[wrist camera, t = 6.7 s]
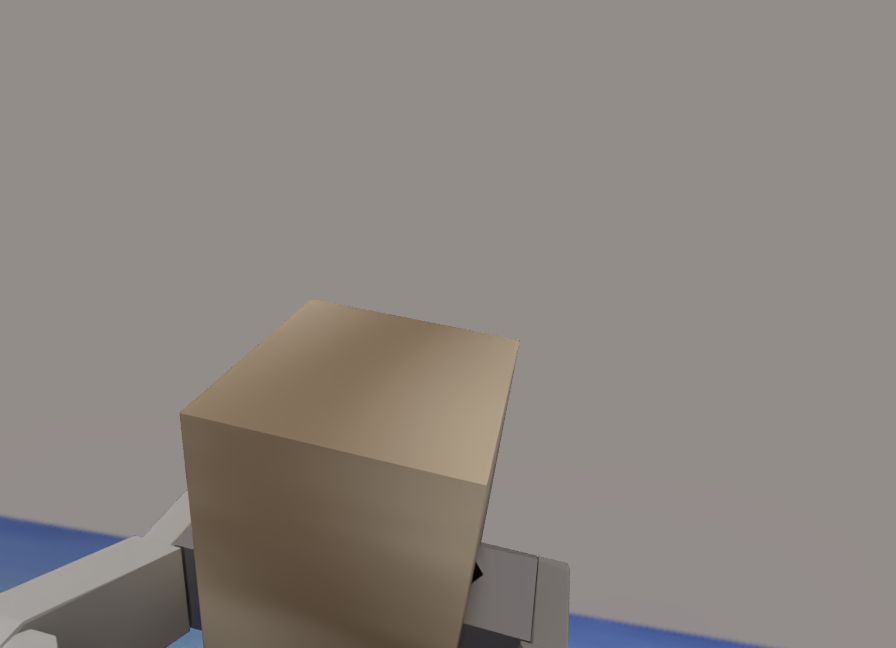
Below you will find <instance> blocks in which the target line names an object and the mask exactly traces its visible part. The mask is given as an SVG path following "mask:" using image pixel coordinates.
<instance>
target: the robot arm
mask: <svg viewBox="0 0 896 648" xmlns="http://www.w3.org/2000/svg"><path fill="white" fill-rule="evenodd" d="M569 588H570V568H569V565H568V564H567V563H564V562H560V561H556V560H551V559H548V558H544V557H540V556H539V557H537V556H536V555H531V554H527V553H523V552H519V551H515V550H510V549H507V548H502V547H498V546H494V545H490V544H486V543H482V542H480V545H479V549H478V554H477V558H476V563H475V568H474V574H473V579H472V584H471V586H470V591H469V596H468V600H467V605H466V610H465V614H464V619H463V624H462V629H461V634H460V640H459V645H458V648H568V635H569ZM190 628H194V629H198V630H202V624H201V614H200V605H199V595H198V585H197V576H196V566H195V556H194V547H193V537H192V527H191V517H190V508H189V498H188V489H187V490H186V491H185V492H184V494H183V495H182V496H181V497H180V498H179V499H178V500H177V501H176V502H175V503H174V504H173V505H172V506H171V507H170V509H169V510H168V511H167V512H166V513H165V514H164V515H163V516H162V517H161V518H160V519H159V520H158V522H157V523H156V524H155V525H154V526H153V527H152V528H151V529H150V530H149V531H148V532H147V533H146V534H145V535H144V536H143V537H140V536H136V535H134V536H132V537H130V538H127V539H125V540H123V541H120V542H118V543H116V544H113V545H111V546H109V547H106V548H104V549H102V550H99V551H97V552H95V553H92V554H90V555H88V556H85V557H83V558H81V559H78V560H76V561H74V562H71V563H69V564H67V565H64V566H62V567H60V568H57V569H55V570H53V571H50V572H48V573H46V574H43V575H41V576H39V577H36V578H34V579H32V580H29V581H27V582H25V583H22V584H20V585H18V586H15V587H13V588H11V589H8V590H6V591H4V592H1V593H0V648H166V647H167V646H169V645H170V644H172V643H173V642H175V641H176V640H177V639H179V638H180V637H182V636H183V635H185V634H186V633H188V632H189V631H190Z"/></svg>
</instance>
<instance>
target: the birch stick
mask: <svg viewBox="0 0 896 648" xmlns="http://www.w3.org/2000/svg"><path fill="white" fill-rule="evenodd" d="M519 342H520V340H516V339H510V338H505V337H501V336H496V335H490V334H486V333H480V332H475V331H470V330H466V329H460V328H455V327H450V326H445V325H440V324H435V323H430V322H425V321H420V320H415V319H410V318H405V317H400V316H395V315H390V314H385V313H380V312H375V311H370V310H365V309H360V308H355V307H350V306H344V305H340V304H335V303H330V302H325V301H320V300H315V299H310V300H309V301H308V302H307V303H306V304H305V305H303V306H302V307H301V308H300V309H299V310H298V311H297V312H295V313H294V314H293V315H292V316H291V317H290V318H288V319H287V320H286V321H285V322H284V323H283V324H282V325H280V326H279V327H278V328H277V329H276V330H275V331H274V332H272V333H271V334H270V335H269V336H268V337H267V338H265V339H264V340H263V341H262V342H261V343H260V344H259V345H257V346H256V347H255V348H254V349H253V350H252V351H250V352H249V353H248V354H247V355H246V356H245V357H244V358H242V359H241V360H240V361H239V362H238V363H237V364H235V365H234V366H233V367H232V368H231V369H230V370H229V371H227V372H226V373H225V374H224V375H223V376H222V377H220V378H219V379H218V380H217V381H216V382H215V383H214V384H212V385H211V386H210V387H209V388H208V389H207V390H206V391H204V392H203V393H202V394H201V395H200V396H199V397H197V398H196V399H195V400H194V401H193V402H192V403H191V404H189V405H188V406H187V407H186V408H185V409H184V410H182V411H181V412H180V420H181V430H182V440H183V449H184V459H185V469H186V479H187V487H188V498H189V508H190V517H191V527H192V537H193V547H194V556H195V566H196V576H197V585H198V595H199V605H200V614H201V624H202V634H203V644H204V648H458V645H459V640H460V634H461V629H462V624H463V619H464V614H465V610H466V605H467V600H468V596H469V591H470V586H471V584H472V579H473V574H474V568H475V563H476V558H477V554H478V549H479V545H480V542H481V540H482V534H483V529H484V524H485V519H486V514H487V508H488V503H489V498H490V493H491V488H492V482H493V477H494V472H495V467H496V461H497V456H498V451H499V446H500V440H501V436H502V430H503V425H504V420H505V415H506V409H507V404H508V399H509V394H510V389H511V383H512V378H513V373H514V368H515V363H516V357H517V352H518V347H519Z"/></svg>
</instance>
